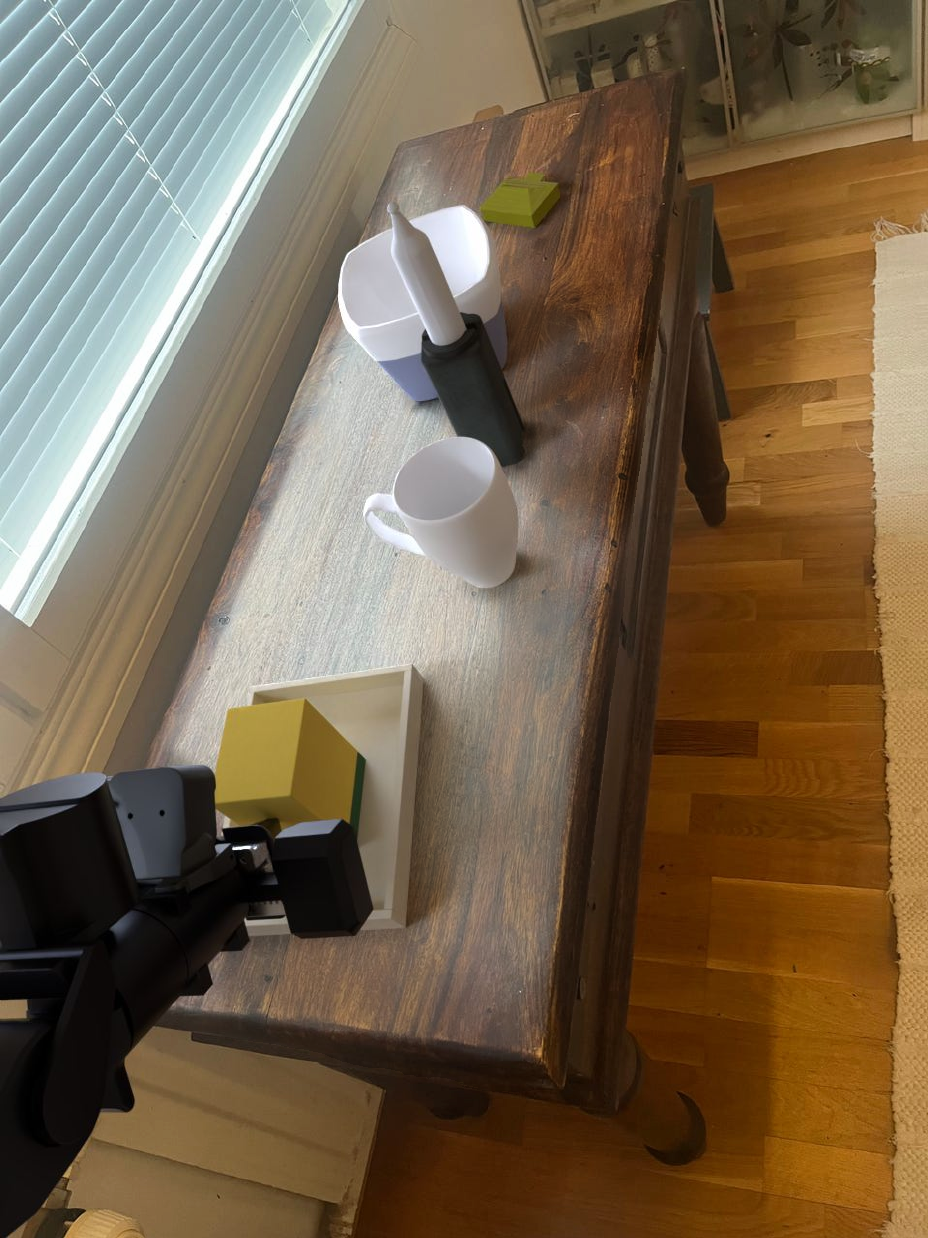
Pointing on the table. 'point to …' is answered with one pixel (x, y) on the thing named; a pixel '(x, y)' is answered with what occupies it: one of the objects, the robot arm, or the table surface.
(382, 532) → the mug
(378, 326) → the bowl
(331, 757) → the block
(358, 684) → the tray
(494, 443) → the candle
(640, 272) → the table surface
